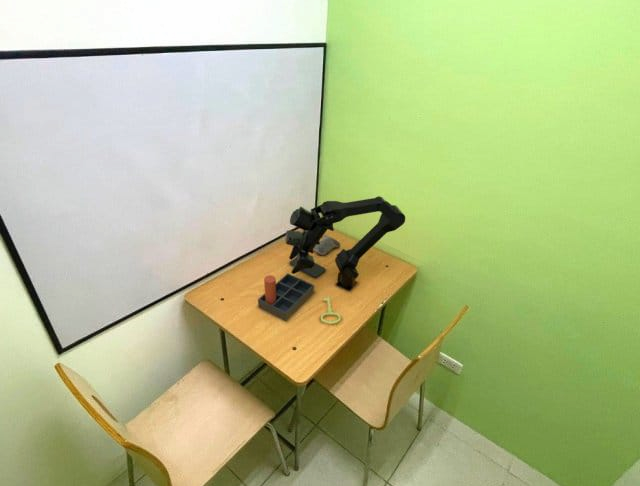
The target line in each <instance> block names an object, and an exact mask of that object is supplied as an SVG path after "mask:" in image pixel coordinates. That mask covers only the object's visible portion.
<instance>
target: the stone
mask: <svg viewBox="0 0 640 486" xmlns="http://www.w3.org/2000/svg"><path fill="white" fill-rule="evenodd" d="M340 246H341V242H339V241H338V240H336V239H335V238H333V237H331V236H329V235H327V234H324V235H323V236H322V238H321V239H320V244H319V245H318V244H317V245H316V246H315V247H314V249H313V250H314V252H315V253H316V254H318V255H320V256H326V255H327V254H328V253H329V252H330V251H332V250H333V249H336V248H340Z"/></svg>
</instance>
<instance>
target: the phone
mask: <svg viewBox="0 0 640 486" xmlns="http://www.w3.org/2000/svg"><path fill="white" fill-rule="evenodd" d="M314 263H315V265H314V267H313V268H312V269H310V268H306V269H304V270H301V271H300V272H303V273H305V274H307V275H309V276H310V277H312V278H315V279H316V278H319V276H321V275H322V274H324V273H325V272H326V268H325V267H323V266H321V265H320V264H318V263H316V262H314ZM295 264H296V257H295V258H293V259H292V260H290V261H289V265H290V266H291V267H294V266H295Z"/></svg>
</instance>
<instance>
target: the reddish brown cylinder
mask: <svg viewBox="0 0 640 486" xmlns="http://www.w3.org/2000/svg"><path fill="white" fill-rule="evenodd" d="M276 279H277V278H276V277H275V275H273V274H272V275H271V274H269V275H266V276H264V278H263V282H264V294H265V302H267V303H269V304H271V305H273V304H274V303H275V302H276V283H277V282H276Z"/></svg>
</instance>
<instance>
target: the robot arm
mask: <svg viewBox="0 0 640 486" xmlns="http://www.w3.org/2000/svg"><path fill="white" fill-rule="evenodd" d="M378 212H379V213H381V214H380V217H379V219H378V221H377V223H376V224H375V225H374V226H373V227H372V228H371V229H370V230H369V231H367V233H366V234H365V235H363V237H362V238H361V239H359V240H358V241H357V242H356V243H355V244H354V245H353V246H352V247H351V248H349V249H345V248H342V249H341V250H340V251H339V253H337V254H336V257H335V258H334V263H335V265H336V267H337V269H338V273H337V281H336V284H335V286H336V287H339V288H341V289H343V290H345V291H348V292H351V291H352V290H353V288H354V287H355V286H356V285H357V284H358V281H357V279H358V277H359V272H358V270H357V267H358V264H359V261H360V259H362V257H363V256H364V255H365V254H366V253H368V251H370V249H372V247H374V246H375V245H376V244H377V243H378V242H379V241H380V240H381V239H382V238H383V237H384V236H385V235H386V234H388V233H391V232H394V231H396V230H398V229H399V228H400V227H402V226H403V225H404V224H405V223H406V215H405V214H404V212H402V210H401V209H400V208H399V206H398V205H396V204H391V203H390V202H389V201H388V200H386V199H385V198H384V197H383V196H380V195H377V196H375V197H373V198H367V199H360V200H353V201H347V202H343V201H338V200H326V201H323V202H322V203H321V204H319V205H318V206H317V205H316V206H315V207H313V208H311V209H310V210H308V209H306V208H305V207H303V206H299V208H296V209H295V210H293V211H292V213H291V215H290V218H289V224H290V225H291V226H294V227H295V228H296V227H297V228H298V229H300V230H302V232H301V231H300V230H297V231H296V230H290V229H289V230H286V233H285V237H284V240H285V244H286V245H288V246H292V248H291V252H290V254H289V257H288V259H289V260H290V261H292V260H293V259H295V258H296V264H295V266H293V268H292V270H291V271H290V273H291V275H295V274H298V273H299V272H302V271H301V270H304V269H306V268H310V269H312V268H313V267H314V265H315V263H316V262H315V259H314V256H313V255H311V254H314V252H315V251H314V247H315V246H316V245H317V244H318V245H319V244H320V241H321V240H322V239H323V235H326V234H325V233H326V232H327V231H328V230H329V231H331V232H334V224H336V223H340V222H342V221H343V220H344V219H346V218H349V217H353V216H361V215H366V214H371V213H378ZM320 215H321V216H320Z"/></svg>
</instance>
